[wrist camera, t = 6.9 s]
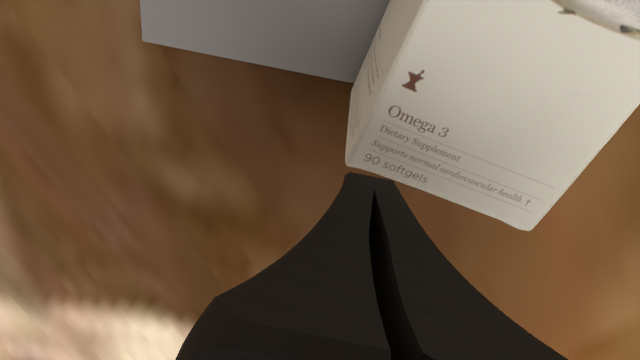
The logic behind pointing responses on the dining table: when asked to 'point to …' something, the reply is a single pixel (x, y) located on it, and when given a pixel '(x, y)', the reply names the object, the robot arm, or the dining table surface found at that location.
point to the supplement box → (494, 98)
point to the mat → (270, 31)
